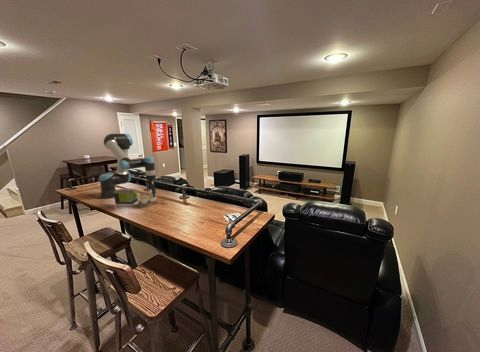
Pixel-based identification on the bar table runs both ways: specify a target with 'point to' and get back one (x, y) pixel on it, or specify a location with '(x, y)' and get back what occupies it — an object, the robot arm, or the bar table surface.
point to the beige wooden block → (151, 198)
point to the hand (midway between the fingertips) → (153, 198)
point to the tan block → (143, 198)
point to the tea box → (126, 197)
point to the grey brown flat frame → (148, 204)
